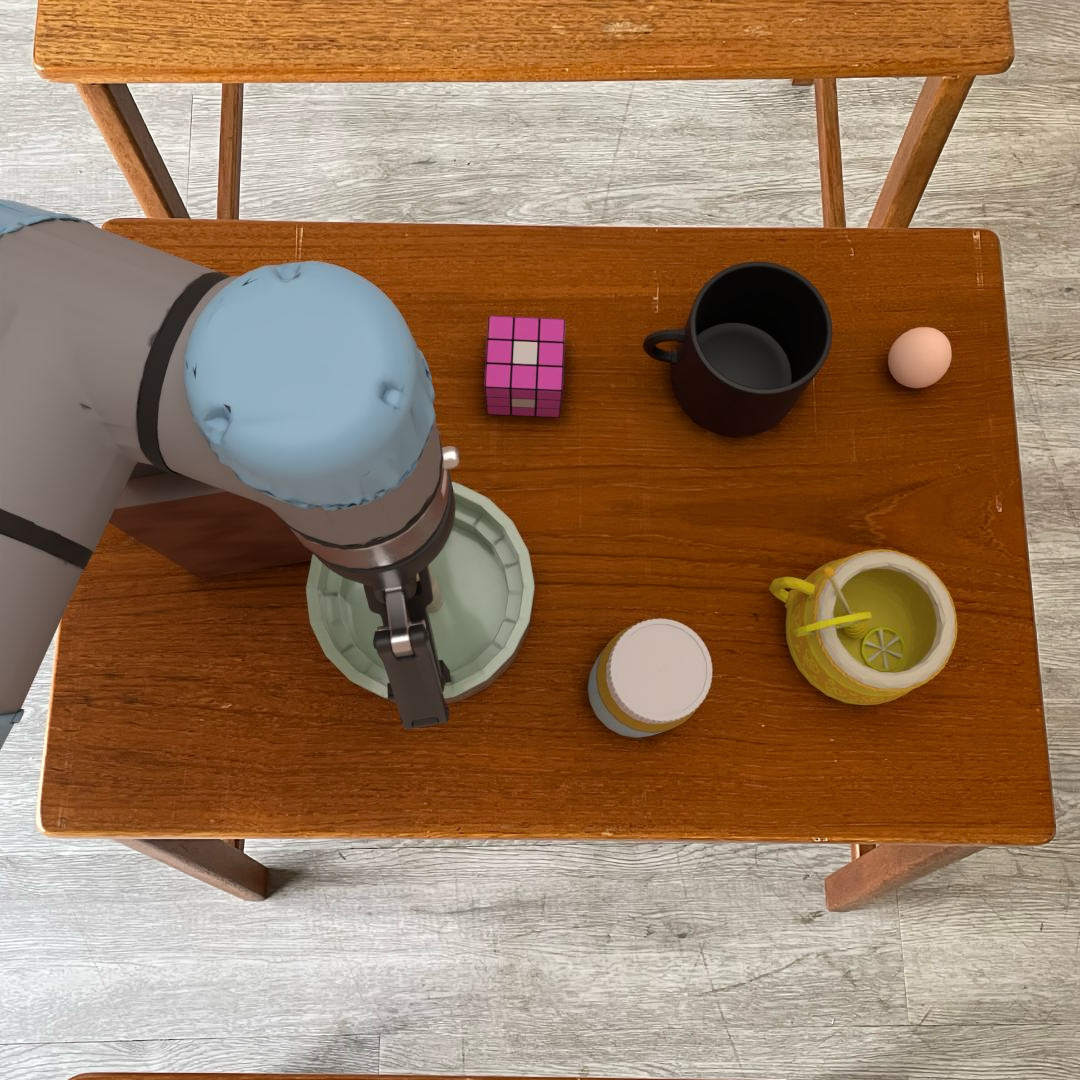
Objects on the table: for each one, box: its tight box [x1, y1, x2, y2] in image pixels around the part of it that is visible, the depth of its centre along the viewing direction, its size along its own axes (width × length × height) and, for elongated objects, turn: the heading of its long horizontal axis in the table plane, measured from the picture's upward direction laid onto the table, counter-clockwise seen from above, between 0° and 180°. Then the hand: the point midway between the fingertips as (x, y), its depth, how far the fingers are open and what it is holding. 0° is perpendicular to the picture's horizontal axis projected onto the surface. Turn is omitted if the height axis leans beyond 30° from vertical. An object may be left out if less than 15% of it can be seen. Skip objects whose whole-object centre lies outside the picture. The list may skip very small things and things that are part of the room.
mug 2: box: [768, 548, 959, 706], centre depth 72 cm, size 13×11×12 cm
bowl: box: [305, 481, 536, 705], centre depth 74 cm, size 16×16×6 cm
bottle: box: [587, 617, 714, 739], centre depth 69 cm, size 7×7×15 cm
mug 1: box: [642, 261, 834, 437], centre depth 77 cm, size 10×13×10 cm
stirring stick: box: [416, 564, 443, 613], centre depth 69 cm, size 2×2×16 cm
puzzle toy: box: [483, 315, 566, 418], centre depth 79 cm, size 6×6×6 cm
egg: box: [887, 326, 953, 389], centre depth 79 cm, size 4×4×6 cm
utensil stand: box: [108, 462, 313, 579], centre depth 66 cm, size 9×9×25 cm
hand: (414, 576), depth 68 cm, fingers open, 13 cm apart
